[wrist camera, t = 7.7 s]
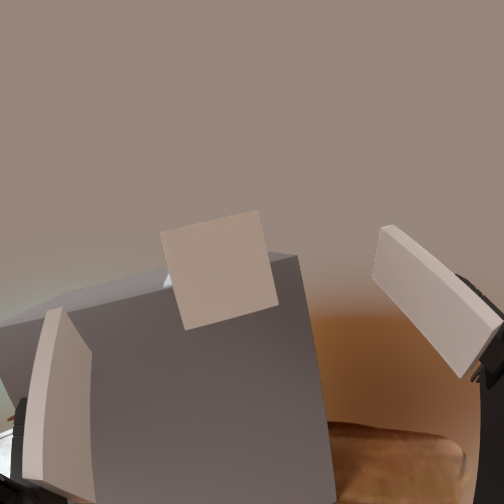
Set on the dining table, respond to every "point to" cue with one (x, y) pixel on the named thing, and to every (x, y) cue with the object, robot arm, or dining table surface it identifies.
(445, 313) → the robot arm
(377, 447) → the dining table surface
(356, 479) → the dining table surface
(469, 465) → the dining table surface
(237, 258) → the bar
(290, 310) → the grey box
